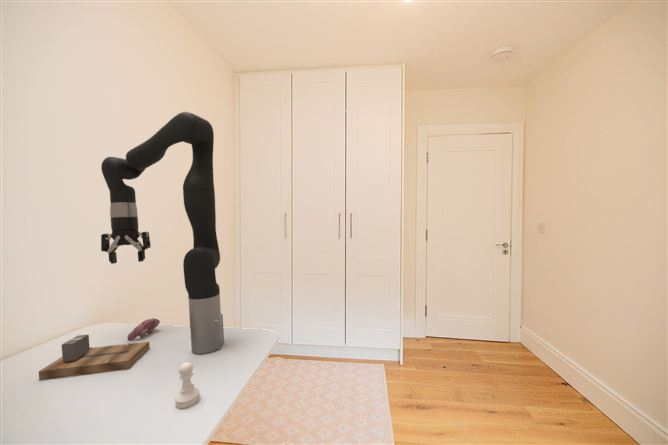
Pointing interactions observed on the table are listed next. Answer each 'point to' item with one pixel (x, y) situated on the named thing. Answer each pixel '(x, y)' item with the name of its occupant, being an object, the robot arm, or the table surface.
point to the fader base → (97, 361)
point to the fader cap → (75, 348)
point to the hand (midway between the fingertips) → (127, 262)
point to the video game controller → (143, 328)
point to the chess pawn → (186, 388)
